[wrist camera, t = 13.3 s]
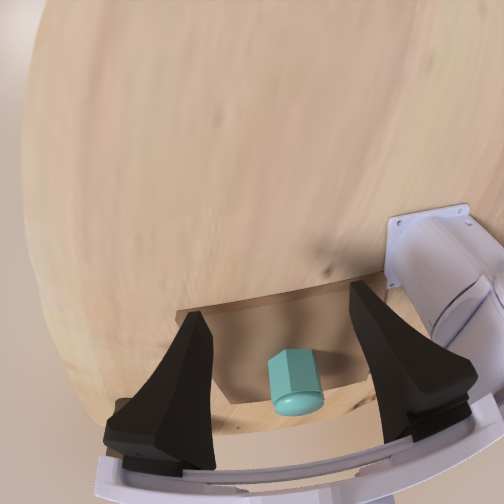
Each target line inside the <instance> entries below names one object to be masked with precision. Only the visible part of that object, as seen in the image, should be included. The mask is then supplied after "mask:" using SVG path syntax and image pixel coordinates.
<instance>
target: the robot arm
mask: <svg viewBox="0 0 504 504" xmlns="http://www.w3.org/2000/svg"><path fill="white" fill-rule="evenodd" d="M458 210H459V211H458ZM469 211H470V206H469V205H468V204H466V203H465V204H460V205H454V206H449V207H443V208H438V209H432V210H427V211H421V212H416V213H411V214H405V215H400V216H395V217H391V218H390V219H389V221H388V229H387V243H386V255H385V265H384V275H385V277H386V278H387V286H386V289H391V288H394V287H398V286H402V287H403V289H404V291H405V292H406V294H407V296H408V297H409V299H410V301H411V303H412V304H413V306H414V308H415V310H416V312H417V313H418V315H419V317H420V319H421V321H422V323H423V324H424V326H425V328H426V330H427V332H428V334H429V336H430V338H431V340H432V341H431V340H430V339H428V338H427V337H425V336H424V335H422V334H421V333H419V332H418V331H417V330H415V329H414V328H413V327H411V326H410V325H409V324H408V323H406V322H405V321H404V320H403V319H402V318H400V317H399V316H398V315H397V314H396V313H395V312H394V311H393V310H392V309H391V308H390V307H389V306H387V305H386V304H385V303H384V302H383V301H382V300H381V299H380V298H379V297H378V296H377V295H376V294H375V292H374V291H373V290H372V289H371V288H370V287H369V286H368V285H367V284H366V283H365V282H364V281H363V280H358V281H354V282H350V294H349V314H350V317H351V321H352V325H353V328H354V331H355V333H356V336H357V338H358V341H359V343H360V346H361V348H362V351H363V353H364V356H365V358H366V361H367V363H368V366H369V369H370V372H371V375H372V379H373V383H374V387H375V392H376V396H377V400H378V405H379V411H380V417H381V423H382V430H383V437H384V445H381V446H378V447H374V448H371V449H367V450H364V451H360V452H357V453H353V454H349V455H345V456H340V457H336V458H332V459H327V460H322V461H316V462H311V463H305V464H299V465H293V466H285V467H275V468H265V469H252V470H230V471H229V470H225V471H214V470H215V469H216V462H215V455H214V448H213V439H212V428H211V411H210V392H211V380H212V369H213V357H214V347H213V335H212V333H211V331H210V329H209V327H208V325H207V323H206V321H205V319H204V317H203V315H202V313H201V311H193V312H188V314H187V315H186V317H185V319H184V321H183V323H182V325H181V327H180V329H179V331H178V333H177V335H176V337H175V338H174V340H173V342H172V344H171V346H170V347H169V349H168V351H167V353H166V354H165V356H164V357H163V359H162V361H161V362H160V364H159V365H158V367H157V368H156V370H155V371H154V373H153V374H152V375H151V377H150V378H149V379H148V381H147V382H146V383H145V384H144V385H143V387H142V388H141V389H140V390H139V391H138V392H137V394H136V395H135V396H134V397H133V398H132V399H131V400H130V401H129V402H128V403H127V404H126V405H124V406H123V407H122V408H121V409H120V410H119V411H118V412H116V413H115V414H114V415H113V416H112V417H110V418H109V419H108V420H107V423H106V428H105V433H104V438H103V443H104V444H105V445H106V446H107V447H109V448H111V449H113V450H114V451H116V452H118V453H120V454H122V455H124V456H123V460H122V459H119V458H115V457H110V456H105V455H100V456H99V462H98V469H97V475H96V483H95V490H94V495H95V496H98V497H102V498H105V499H108V500H111V501H115V502H118V503H122V504H395V501H394V496H393V494H394V493H396V492H399V491H402V490H405V489H407V488H410V487H412V486H414V485H417V484H419V483H422V482H424V481H426V480H428V479H430V478H433V477H435V476H437V475H439V474H440V473H443V472H445V471H447V470H449V469H450V468H453V467H454V466H456V465H458V464H459V463H462V462H463V461H465V460H467V459H469V458H470V457H472V456H474V455H475V454H477V453H478V452H480V451H482V450H483V449H485V448H486V447H488V446H489V445H491V444H492V443H494V442H495V441H497V440H498V439H500V438H501V437H502V436H504V248H503V247H502V246H501V245H500V244H499V243H498V242H497V241H496V240H495V239H494V238H493V237H492V236H491V235H490V234H489V233H488V232H487V231H486V230H485V229H484V228H483V227H482V226H481V225H480V224H479V223H478V222H477V221H475V220H474V219H473V218H472V217H471V216H470V215H469ZM398 221H400V222H399V223H397V222H398ZM391 283H392V284H391ZM387 458H388V459H387ZM384 459H385V460H384ZM381 460H382V461H381ZM378 461H380V462H378ZM375 462H377V463H375ZM371 463H375V464H372V465H369V466H366V467H364V468H361V469H360V470H359V472H358V473H357V474H355V478H351V479H347V480H341V481H336V482H331V483H326V484H320V485H314V486H307V487H300V488H293V489H285V490H276V491H265V492H252V493H249V491H248V490H243V489H238V488H236V487H231V486H214V485H211V484H216V485H217V484H218V485H230V484H231V485H235V484H257V483H271V482H282V481H290V480H298V479H304V478H310V477H316V476H322V475H327V474H331V473H336V472H341V471H344V470H349V469H353V468H357V467H361V466H364V465H368V464H371Z"/></svg>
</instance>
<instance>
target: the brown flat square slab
mask: <svg viewBox="0 0 504 504" xmlns="http://www.w3.org/2000/svg"><path fill="white" fill-rule="evenodd" d="M358 280H363V281H364V282H365V283H366V284H367V285H368V286H369V287H370V288H371V289H372V290H373V291H374V292H375V294H376V295H377V296H378V297H379V298H380V299H381V300H382V301H383V302H384V298H385V292H386V286H387V278H386V277H385V275H384V273H383V272H379V273H375V274H370V275H366V276H362V277H357V278H353V279H348V280H344V281H339V282H335V283H330V284H325V285H321V286H316V287H311V288H306V289H301V290H296V291H291V292H286V293H281V294H276V295H270V296H265V297H259V298H254V299H248V300H242V301H237V302H231V303H225V304H219V305H213V306H206V307H200V308H193V309H187V310H180V311H177V313H176V318H175V321H176V322H177V324H178V326H179V327H181V325H182V323H183V321H184V319H185V317H186V315H187V314H188V312H193V311H201V313H202V315H203V317H204V319H205V321H206V323H207V325H208V327H209V329H210V331H211V333H212V335H213V347H214V357H213V369H212V378H213V380H214V381H215V383H216V384H217V386H218V387H219V388H220V390H221V391H222V393H223V394H224V395H225V397H226V398H227V399H228V401H229V402H230V404H242V403H251V402H260V401H267V400H271V390H270V379H269V368H268V361H269V360H270V359H272V358H273V357H275V356H276V355H278V354H279V353H280V352H282V351H283V350H285V349H311V350H312V352H313V355H314V357H315V359H316V361H317V366H318V371H319V375H320V380H321V385H322V390H323V391H325V390H329V389H334V388H338V387H342V386H346V385H350V384H354V383H358V382H362V381H365V380H367V377H368V374H369V370H370V369H369V366H368V363H367V361H366V358H365V356H364V353H363V351H362V348H361V346H360V343H359V341H358V338H357V336H356V333H355V331H354V328H353V325H352V321H351V317H350V314H349V294H350V282H354V281H358Z"/></svg>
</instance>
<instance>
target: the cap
mask: <svg viewBox="0 0 504 504" xmlns="http://www.w3.org/2000/svg"><path fill="white" fill-rule="evenodd" d="M268 368H269V379H270V390H271V401H272V403H273V404H274V405H275V411H276V413H277V414H279V415H282V416H301V415H305V414H309V413H312V412H314V411H316V410H318V409H320V408H321V407H322V406H323V404H324V402H323V400H324V395H323V390H322V385H321V380H320V375H319V371H318V366H317V361H316V359H315V357H314V355H313V352H312V350H311V349H285V350H283V351H282V352H280V353H279V354H278V355H276V356H275V357H273V358H272V359H270V360H269V361H268Z"/></svg>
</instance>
